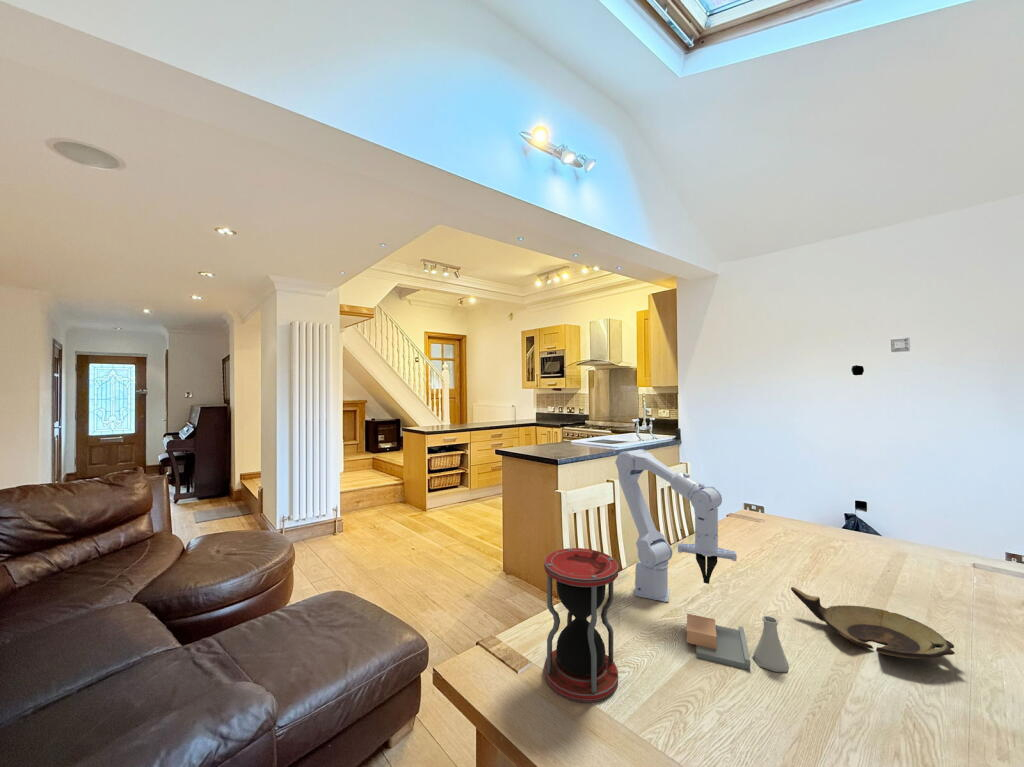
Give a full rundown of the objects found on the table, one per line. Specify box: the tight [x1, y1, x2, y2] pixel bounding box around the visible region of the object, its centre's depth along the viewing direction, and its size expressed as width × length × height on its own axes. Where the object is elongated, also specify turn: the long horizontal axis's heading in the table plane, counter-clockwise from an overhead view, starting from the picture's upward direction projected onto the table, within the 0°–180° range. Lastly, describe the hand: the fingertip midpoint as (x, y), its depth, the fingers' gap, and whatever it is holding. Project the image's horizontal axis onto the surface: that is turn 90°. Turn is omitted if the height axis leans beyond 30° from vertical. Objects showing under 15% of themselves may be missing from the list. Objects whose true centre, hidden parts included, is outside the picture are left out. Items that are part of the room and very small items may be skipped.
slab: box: [686, 613, 717, 649], centre depth 103 cm, size 3×8×6 cm
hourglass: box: [543, 547, 619, 703], centre depth 91 cm, size 16×16×25 cm
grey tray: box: [695, 624, 751, 671], centre depth 101 cm, size 11×14×2 cm
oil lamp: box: [790, 586, 956, 660], centre depth 104 cm, size 22×30×8 cm
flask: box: [752, 615, 790, 673], centre depth 95 cm, size 7×7×10 cm
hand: (706, 581), depth 113 cm, fingers closed
